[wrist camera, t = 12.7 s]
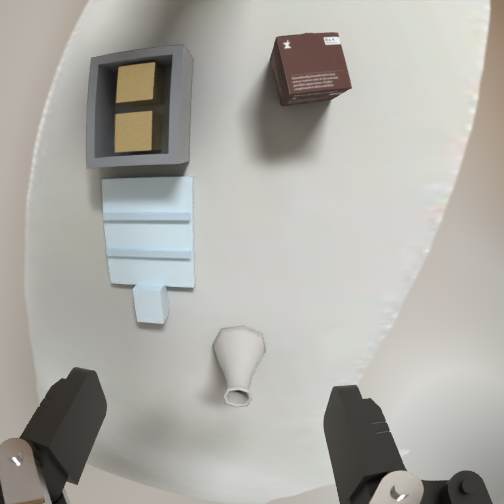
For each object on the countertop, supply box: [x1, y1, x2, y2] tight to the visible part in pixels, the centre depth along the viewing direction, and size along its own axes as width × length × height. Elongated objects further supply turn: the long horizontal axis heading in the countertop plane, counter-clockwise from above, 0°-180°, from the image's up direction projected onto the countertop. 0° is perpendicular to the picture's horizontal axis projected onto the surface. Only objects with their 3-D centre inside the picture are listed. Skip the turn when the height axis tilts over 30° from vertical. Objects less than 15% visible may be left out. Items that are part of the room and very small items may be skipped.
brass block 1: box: [116, 62, 165, 107], centre depth 27 cm, size 4×4×4 cm
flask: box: [213, 326, 266, 407], centre depth 36 cm, size 7×7×10 cm
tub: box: [86, 45, 193, 169], centre depth 28 cm, size 12×10×6 cm
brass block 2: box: [115, 111, 163, 152], centre depth 29 cm, size 4×4×4 cm
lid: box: [102, 176, 196, 324], centre depth 35 cm, size 17×11×3 cm, turn 178°
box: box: [270, 32, 352, 106], centre depth 26 cm, size 6×6×7 cm
